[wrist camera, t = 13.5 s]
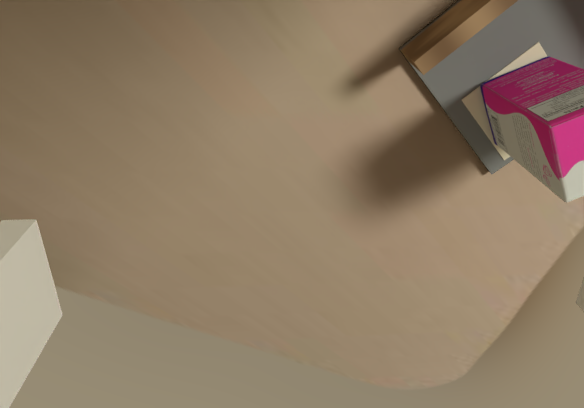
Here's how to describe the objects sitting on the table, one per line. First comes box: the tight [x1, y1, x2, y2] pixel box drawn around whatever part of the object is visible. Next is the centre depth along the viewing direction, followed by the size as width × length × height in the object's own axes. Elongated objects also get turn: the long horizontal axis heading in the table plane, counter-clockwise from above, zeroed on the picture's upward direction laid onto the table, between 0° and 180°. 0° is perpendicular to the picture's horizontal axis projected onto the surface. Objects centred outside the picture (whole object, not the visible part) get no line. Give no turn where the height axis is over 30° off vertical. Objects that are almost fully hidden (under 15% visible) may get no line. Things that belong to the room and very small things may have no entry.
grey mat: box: [399, 0, 584, 174], centre depth 40 cm, size 16×14×1 cm
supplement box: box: [480, 56, 584, 202], centre depth 36 cm, size 6×6×12 cm
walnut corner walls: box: [399, 0, 518, 75], centre depth 38 cm, size 16×14×5 cm
